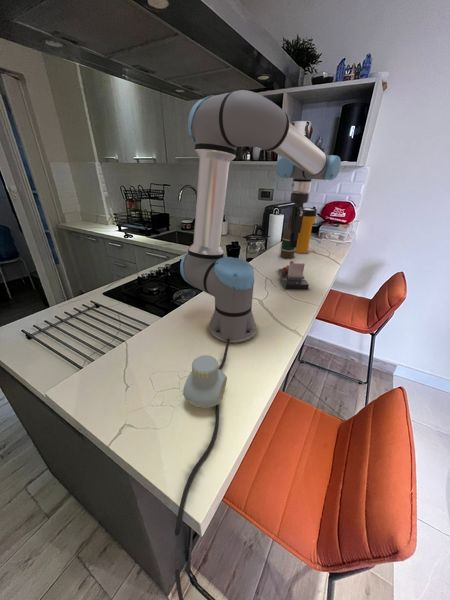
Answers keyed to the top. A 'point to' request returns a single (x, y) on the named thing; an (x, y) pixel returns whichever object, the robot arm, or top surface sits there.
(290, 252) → the beer bottle
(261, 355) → the top surface
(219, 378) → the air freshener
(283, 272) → the button block
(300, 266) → the white upright panel
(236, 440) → the top surface
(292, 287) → the control panel
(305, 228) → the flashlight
